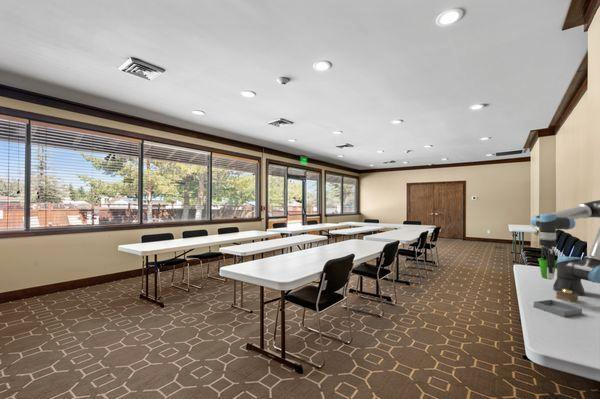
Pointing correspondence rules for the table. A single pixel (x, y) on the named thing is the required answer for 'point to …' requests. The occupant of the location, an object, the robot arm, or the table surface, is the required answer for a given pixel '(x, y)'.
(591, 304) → the table surface
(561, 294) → the block
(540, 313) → the table surface
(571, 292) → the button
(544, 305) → the tray
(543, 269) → the cup
